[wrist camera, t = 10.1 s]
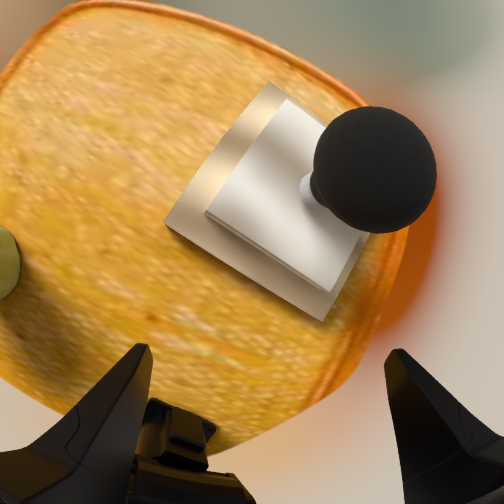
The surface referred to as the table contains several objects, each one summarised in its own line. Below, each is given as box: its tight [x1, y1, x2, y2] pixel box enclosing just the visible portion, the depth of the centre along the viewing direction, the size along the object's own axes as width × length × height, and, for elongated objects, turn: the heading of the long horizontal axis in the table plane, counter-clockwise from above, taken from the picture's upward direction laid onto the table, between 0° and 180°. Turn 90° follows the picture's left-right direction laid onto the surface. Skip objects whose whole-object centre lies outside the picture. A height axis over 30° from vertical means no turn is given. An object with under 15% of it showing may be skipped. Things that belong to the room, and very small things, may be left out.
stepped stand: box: [163, 81, 370, 322], centre depth 20 cm, size 14×14×4 cm
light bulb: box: [299, 106, 437, 234], centre depth 13 cm, size 6×6×10 cm
